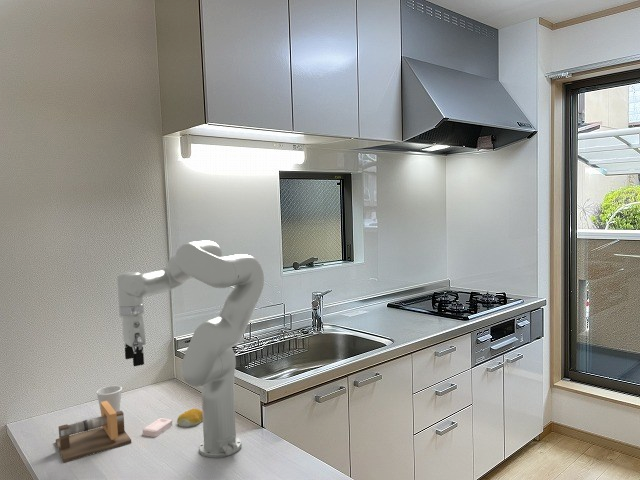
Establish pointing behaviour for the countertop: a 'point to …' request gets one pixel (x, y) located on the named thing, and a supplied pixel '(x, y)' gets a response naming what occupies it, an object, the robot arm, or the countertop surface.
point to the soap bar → (157, 427)
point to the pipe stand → (89, 437)
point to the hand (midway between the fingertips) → (134, 361)
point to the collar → (110, 420)
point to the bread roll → (190, 418)
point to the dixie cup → (110, 396)
